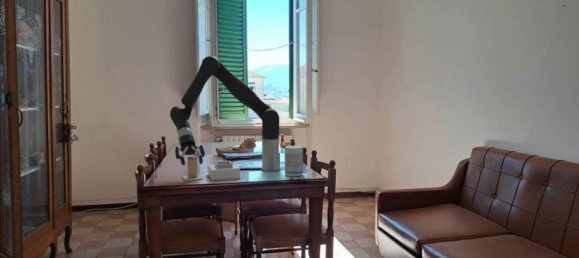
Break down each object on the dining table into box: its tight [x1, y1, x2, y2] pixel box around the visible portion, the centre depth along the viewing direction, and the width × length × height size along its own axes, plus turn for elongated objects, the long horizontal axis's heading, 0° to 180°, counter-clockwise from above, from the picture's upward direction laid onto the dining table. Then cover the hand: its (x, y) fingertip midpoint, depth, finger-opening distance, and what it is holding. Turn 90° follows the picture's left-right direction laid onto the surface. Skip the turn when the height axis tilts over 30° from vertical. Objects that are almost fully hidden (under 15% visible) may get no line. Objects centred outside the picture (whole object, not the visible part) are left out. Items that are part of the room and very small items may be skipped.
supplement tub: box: [284, 145, 304, 178], centre depth 219 cm, size 10×10×15 cm
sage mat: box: [182, 174, 204, 182], centre depth 211 cm, size 9×9×1 cm
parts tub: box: [207, 160, 242, 181], centre depth 216 cm, size 16×13×7 cm
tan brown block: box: [187, 155, 198, 178], centre depth 210 cm, size 5×5×10 cm
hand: (192, 163), depth 210 cm, fingers open, 8 cm apart
